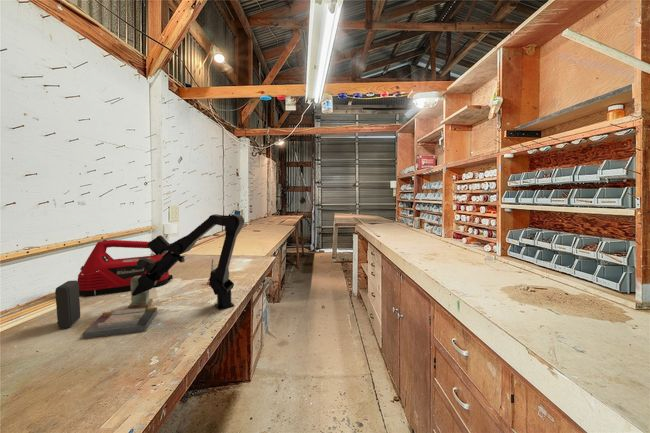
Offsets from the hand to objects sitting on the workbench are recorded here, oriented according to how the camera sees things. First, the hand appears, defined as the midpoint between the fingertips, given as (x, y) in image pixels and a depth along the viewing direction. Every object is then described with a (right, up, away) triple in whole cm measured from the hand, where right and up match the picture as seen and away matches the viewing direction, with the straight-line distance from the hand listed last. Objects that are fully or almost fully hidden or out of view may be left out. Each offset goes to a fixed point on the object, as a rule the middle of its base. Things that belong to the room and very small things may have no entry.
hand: (136, 291), depth 117 cm
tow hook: (+21, -5, +34) cm, 40 cm away
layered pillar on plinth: (+1, -7, +1) cm, 7 cm away
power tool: (-22, -5, +27) cm, 35 cm away
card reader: (-16, -8, -13) cm, 22 cm away
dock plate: (+4, -8, -14) cm, 17 cm away
